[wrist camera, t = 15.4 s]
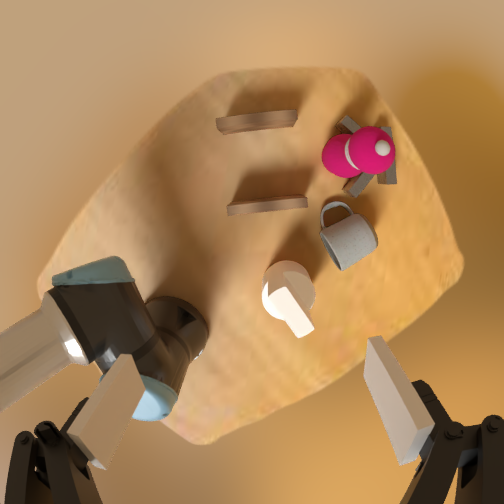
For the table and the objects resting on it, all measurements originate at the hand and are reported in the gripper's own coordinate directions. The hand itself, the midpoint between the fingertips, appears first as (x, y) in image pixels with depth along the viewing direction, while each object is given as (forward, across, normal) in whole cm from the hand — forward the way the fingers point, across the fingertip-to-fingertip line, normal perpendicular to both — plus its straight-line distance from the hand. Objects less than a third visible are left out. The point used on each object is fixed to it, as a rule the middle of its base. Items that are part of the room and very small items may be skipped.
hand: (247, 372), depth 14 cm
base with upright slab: (+37, +4, -10) cm, 39 cm away
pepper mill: (+37, +16, +12) cm, 42 cm away
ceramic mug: (+37, +14, -1) cm, 40 cm away
